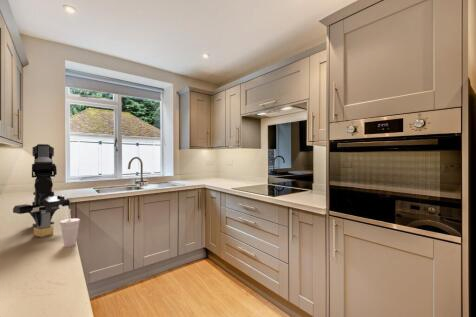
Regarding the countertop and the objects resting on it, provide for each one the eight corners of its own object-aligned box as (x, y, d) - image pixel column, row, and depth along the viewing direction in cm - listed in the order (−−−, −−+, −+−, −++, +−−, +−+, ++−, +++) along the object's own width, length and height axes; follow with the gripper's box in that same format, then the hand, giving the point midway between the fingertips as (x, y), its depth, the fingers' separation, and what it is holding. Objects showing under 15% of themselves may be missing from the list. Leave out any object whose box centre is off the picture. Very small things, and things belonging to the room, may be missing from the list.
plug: (37, 231, 100) (36, 212, 100) (45, 229, 103) (45, 211, 103) (42, 232, 98) (42, 213, 98) (50, 230, 101) (50, 212, 101)
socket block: (33, 236, 99) (33, 228, 99) (46, 232, 104) (46, 225, 104) (41, 237, 97) (41, 229, 97) (53, 234, 101) (53, 226, 101)
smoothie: (77, 240, 94) (77, 206, 94) (82, 244, 90) (82, 209, 90) (57, 245, 89) (57, 209, 89) (62, 249, 85) (62, 212, 85)
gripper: (27, 194, 89) (27, 234, 89) (77, 188, 106) (77, 221, 106) (12, 192, 93) (12, 230, 93) (62, 186, 110) (62, 219, 110)
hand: (43, 225), depth 100 cm, fingers closed on plug, 3 cm apart
